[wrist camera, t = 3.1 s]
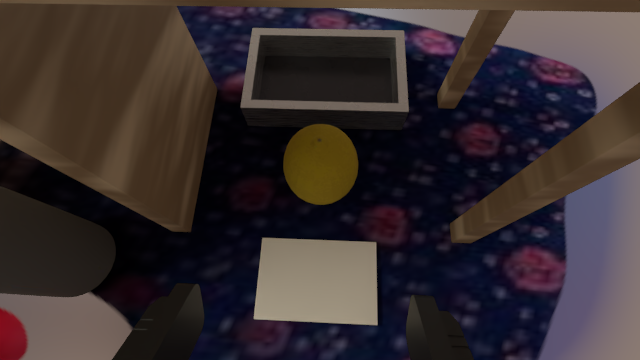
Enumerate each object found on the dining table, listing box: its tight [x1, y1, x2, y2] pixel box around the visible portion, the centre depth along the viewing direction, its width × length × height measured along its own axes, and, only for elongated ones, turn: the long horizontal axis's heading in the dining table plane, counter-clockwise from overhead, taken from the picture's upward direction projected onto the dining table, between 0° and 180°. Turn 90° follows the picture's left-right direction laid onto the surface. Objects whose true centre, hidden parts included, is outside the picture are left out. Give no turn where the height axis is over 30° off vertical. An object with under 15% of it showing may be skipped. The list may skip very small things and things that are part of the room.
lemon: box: [283, 124, 358, 205], centre depth 25 cm, size 6×6×8 cm
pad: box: [254, 238, 378, 325], centre depth 26 cm, size 9×6×1 cm, turn 87°
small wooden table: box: [0, 0, 640, 243], centre depth 19 cm, size 24×14×24 cm, turn 87°
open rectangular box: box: [240, 28, 409, 130], centre depth 31 cm, size 14×9×3 cm, turn 87°
